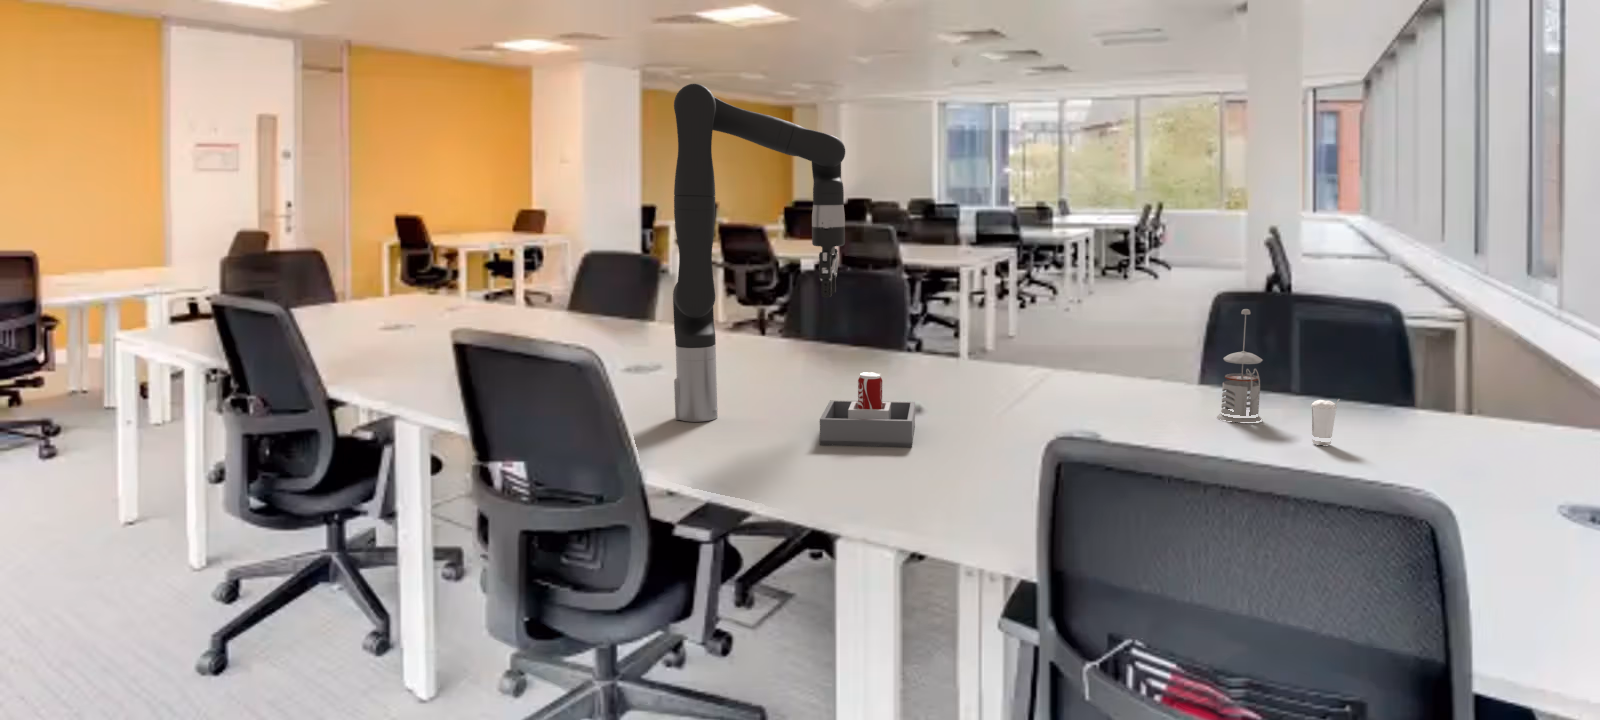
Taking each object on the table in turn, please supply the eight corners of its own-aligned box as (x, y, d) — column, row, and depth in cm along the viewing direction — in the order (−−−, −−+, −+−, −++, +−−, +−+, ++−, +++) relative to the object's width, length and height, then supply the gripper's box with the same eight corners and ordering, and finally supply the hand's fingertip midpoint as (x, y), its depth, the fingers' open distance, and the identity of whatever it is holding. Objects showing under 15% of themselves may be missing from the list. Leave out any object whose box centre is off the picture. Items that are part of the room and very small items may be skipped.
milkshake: (1328, 449, 205) (1331, 400, 203) (1303, 443, 209) (1307, 395, 208) (1342, 446, 207) (1346, 397, 205) (1318, 440, 211) (1321, 393, 210)
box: (819, 445, 213) (819, 416, 212) (830, 424, 232) (830, 398, 231) (911, 447, 210) (912, 418, 209) (915, 425, 229) (915, 399, 228)
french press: (1250, 413, 237) (1257, 305, 233) (1275, 425, 225) (1282, 312, 221) (1208, 414, 236) (1214, 306, 232) (1231, 426, 225) (1237, 312, 221)
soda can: (880, 431, 220) (881, 376, 218) (856, 430, 221) (856, 376, 219) (883, 425, 225) (883, 372, 223) (859, 424, 226) (859, 371, 224)
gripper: (816, 223, 243) (816, 292, 246) (807, 226, 229) (808, 298, 232) (848, 223, 242) (848, 292, 245) (841, 226, 228) (841, 298, 231)
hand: (828, 295), depth 238 cm, fingers open, 8 cm apart
